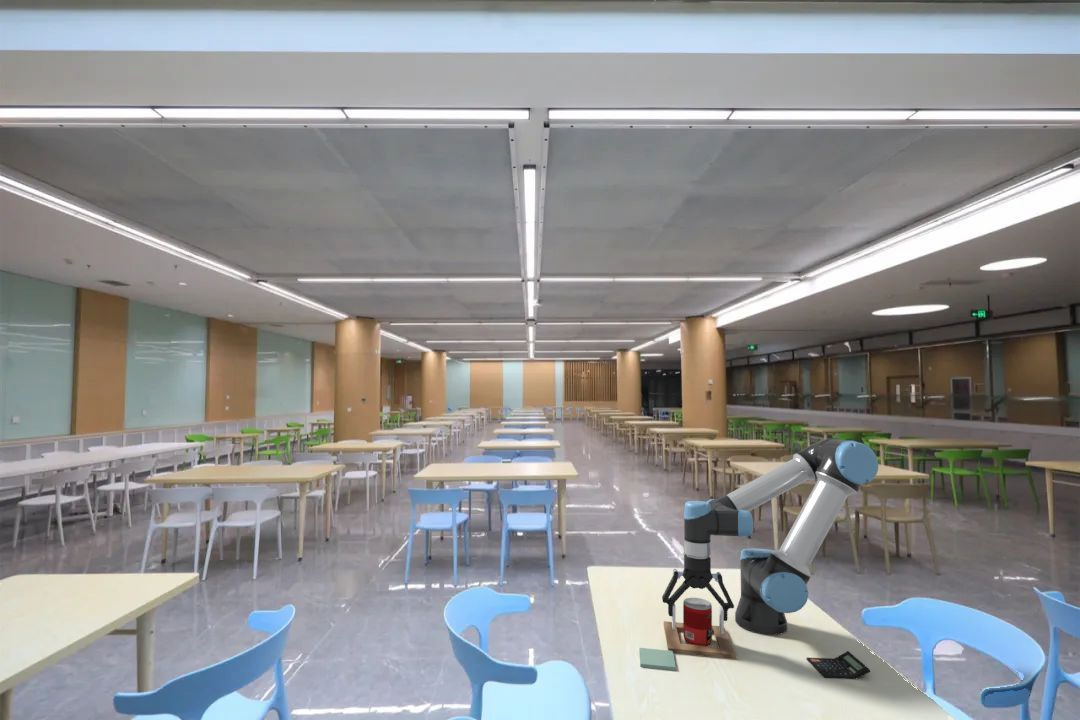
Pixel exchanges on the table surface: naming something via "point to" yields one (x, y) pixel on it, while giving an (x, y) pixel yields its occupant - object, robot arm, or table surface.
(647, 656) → the plate
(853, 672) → the calculator
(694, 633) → the canned food
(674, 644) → the pocket board
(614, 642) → the table surface
